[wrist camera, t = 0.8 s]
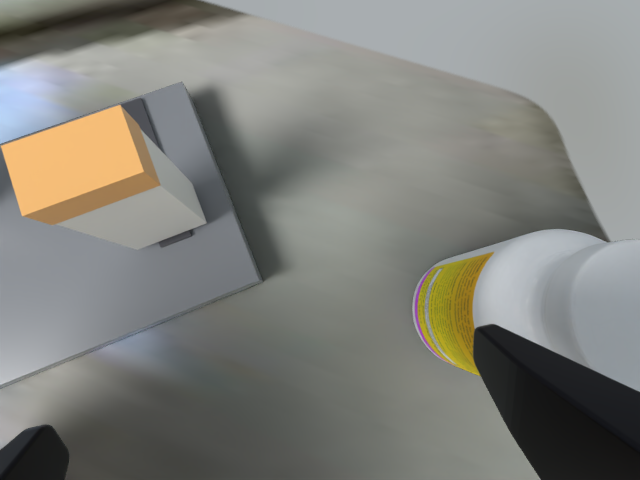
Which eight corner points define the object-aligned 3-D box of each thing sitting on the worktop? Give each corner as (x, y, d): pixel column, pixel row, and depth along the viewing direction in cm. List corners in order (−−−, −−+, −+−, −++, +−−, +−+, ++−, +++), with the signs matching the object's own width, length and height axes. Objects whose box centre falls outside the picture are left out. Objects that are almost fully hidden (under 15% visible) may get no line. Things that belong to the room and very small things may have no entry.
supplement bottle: (436, 383, 23) (604, 488, 10) (392, 280, 23) (493, 255, 11) (533, 339, 23) (808, 385, 11) (486, 241, 24) (687, 173, 11)
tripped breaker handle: (208, 223, 21) (144, 171, 13) (136, 250, 21) (22, 216, 12) (192, 182, 21) (120, 104, 13) (122, 208, 21) (0, 145, 13)
